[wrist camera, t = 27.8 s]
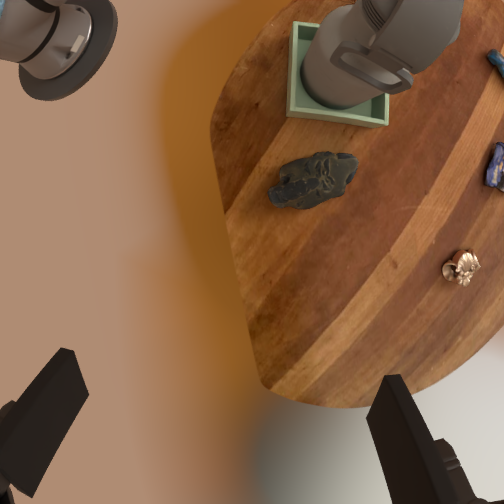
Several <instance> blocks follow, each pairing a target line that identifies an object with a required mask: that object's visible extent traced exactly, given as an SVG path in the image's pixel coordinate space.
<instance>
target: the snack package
mask: <svg viewBox="0 0 504 504" xmlns="http://www.w3.org/2000/svg"><path fill="white" fill-rule="evenodd" d="M489 162H490V161H489ZM485 185H486V186H488V187H496V188H499V189H500V190H501V191H503V192H504V143H502V142H497V143H496V148H495V153H494V156H493V159H492V161H491V162H490V163H489V165H488V168H487V169H486V178H485Z"/></svg>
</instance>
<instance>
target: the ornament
mask: <svg viewBox="0 0 504 504" xmlns="http://www.w3.org/2000/svg"><path fill="white" fill-rule="evenodd" d="M451 265H455V266H456V270H455V271H456V272H458V274H456V273H455V272H454V271H453V270H452V269H451ZM479 268H480V265H479V262H478V261H477V259H476V255H475V251H474V250H473V249H472V250H471V251H470V249H469V250H468V252H466V251H465V250H459V251H458V252H457V253H456V254H455V255H454V257H453V259H452V261H451V260H448V262H446V263H445V264H444V265H443V268H442V273H443V276H444V277H445V279H446V280H448V281H451V282H456V283H457V284H458V285H460V284H462V286H464V287H466V286H468V285H469V283H470V280H469V279H471V278H472V276H473V275H472V274H473V273H474V272H476V270H478V269H479Z"/></svg>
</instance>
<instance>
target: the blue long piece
mask: <svg viewBox="0 0 504 504" xmlns="http://www.w3.org/2000/svg"><path fill="white" fill-rule="evenodd" d="M487 57H488V59H489V60H490V62H491V63H492V64H493V65H497V67H498V70H499V72H500V73H501V76H502V77H503V78H504V57H503V56H502V55H501V54H500V53H499V52H498V51H497V50H496V49H492V50H490V51H489V53H488V56H487Z"/></svg>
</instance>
